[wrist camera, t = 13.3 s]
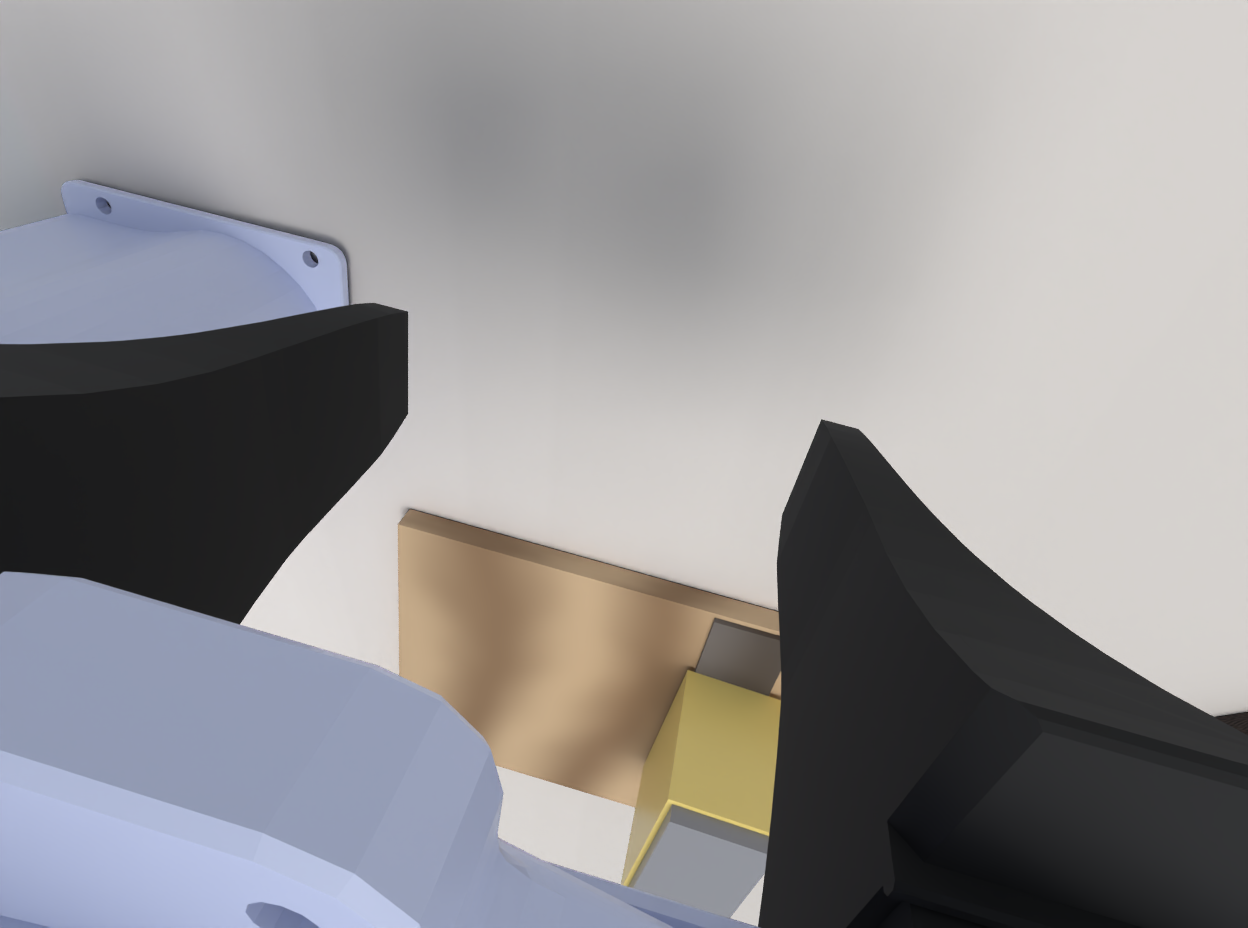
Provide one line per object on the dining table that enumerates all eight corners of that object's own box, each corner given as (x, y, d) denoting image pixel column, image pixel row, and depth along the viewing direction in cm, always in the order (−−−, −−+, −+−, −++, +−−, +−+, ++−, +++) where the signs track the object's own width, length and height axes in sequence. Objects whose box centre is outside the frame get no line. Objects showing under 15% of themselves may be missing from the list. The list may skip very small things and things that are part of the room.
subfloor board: (409, 719, 34) (397, 740, 33) (410, 508, 27) (394, 527, 26) (792, 834, 33) (792, 860, 32) (912, 649, 25) (918, 675, 24)
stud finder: (643, 765, 31) (616, 908, 26) (687, 669, 27) (665, 816, 22) (728, 793, 30) (717, 942, 25) (785, 701, 26) (785, 856, 21)
